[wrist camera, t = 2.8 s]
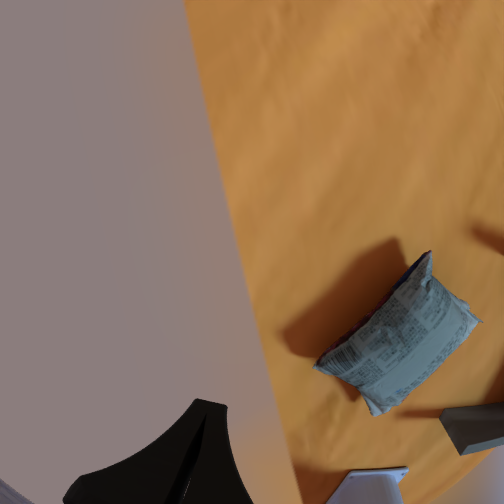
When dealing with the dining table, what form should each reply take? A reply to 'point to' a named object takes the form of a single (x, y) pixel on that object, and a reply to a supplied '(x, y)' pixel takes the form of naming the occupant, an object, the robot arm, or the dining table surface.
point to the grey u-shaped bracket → (475, 427)
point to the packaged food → (400, 339)
